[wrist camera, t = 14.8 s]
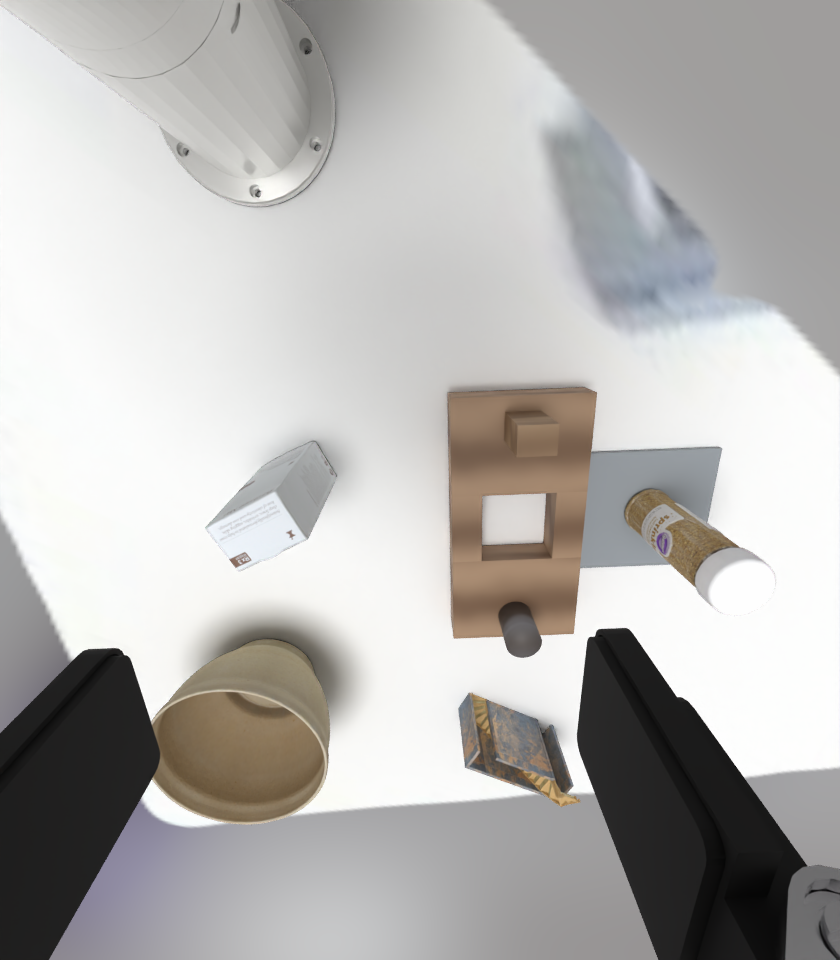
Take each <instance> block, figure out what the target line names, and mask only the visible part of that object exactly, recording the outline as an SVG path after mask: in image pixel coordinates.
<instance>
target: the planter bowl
mask: <svg viewBox="0 0 840 960" xmlns="http://www.w3.org/2000/svg"><path fill="white" fill-rule="evenodd" d="M151 724H152V727H153V730H154V733H155V736H156V739H157V742H158V746H159V749H160V762H159V765H158V768H157V770H156V773H155V774H154V776H153V778H152V780H153V781H154V783H155V784H156V785H157V786H158V788H159V789H160V790H161V791H162V792H163V793H164V794H165V795H166V796H167V797H168V798H170V799H171V800H172V801H173V802H175V803H176V804H178V805H179V806H181V807H182V808H184V809H186V810H188V811H190V812H192V813H194V814H197V815H200V816H203V817H205V818H208V819H212V820H216V821H220V822H225V823H231V824H260V823H267V822H271V821H275V820H279V819H282V818H285V817H287V816H290V815H292V814H294V813H296V812H298V811H299V810H301V809H302V808H304V807H305V806H306V805H307V804H309V803H310V802H311V801H312V800H313V799H314V798H315V797H316V795H317V794H318V793H319V791H320V789H321V788H322V786H323V784H324V781H325V778H326V775H327V769H328V756H329V755H328V747H329V738H330V722H329V712H328V706H327V702H326V698H325V695H324V692H323V690H322V687H321V685H320V683H319V681H318V679H317V677H316V676H315V674H314V669H313V666H312V664H311V662H310V660H309V659H308V658H307V656H306V655H305V654H304V653H303V652H302V651H301V650H299V649H298V648H296V647H295V646H293V645H291V644H289V643H286V642H283V641H279V640H274V639H261V640H255V641H251V642H249V643H247V644H244V645H243V646H241V647H240V648H239V649H236V650H233V651H231V652H228V653H226V654H223V655H221V656H220V657H218V658H216V659H214V660H212V661H211V662H209V663H208V664H206V665H205V666H203V667H202V668H201V669H199V670H198V671H197V672H196V673H194V674H193V675H192V676H191V677H190V678H189V679H188V680H187V681H186V682H185V683H184V684H183V685H182V686H181V687H180V688H179V689H178V690H177V691H176V693H175V694H174V695H173V696H172V698H171V699H170V700H169V702H167V703H166V704H165V705H164V706H163V707H162V708H161V709H160V711H159V712H158V713H157V714H156V716H155V717H154V718H153V720H152V721H151Z"/></svg>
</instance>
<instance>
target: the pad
mask: <svg viewBox="0 0 840 960" xmlns="http://www.w3.org/2000/svg"><path fill="white" fill-rule="evenodd" d="M721 451H722V448H720V447H706V448H681V449H656V450H631V451H606V452H591V459H590V469H589V480H588V490H587V500H586V511H585V521H584V531H583V542H582V552H581V562H580V568H592V567H617V566H643V565H668V564H670V563H669V562H667V561H666V560H665V559H664V558H662V557H661V556H660V555H659V554H658V553H657V552H656V551H655V550H654V549H653V548H652V547H651V546H650V545H649V544H648V543H647V542H646V541H645V540H644V538H643V537H642V536H641V535H640V534H638V532H636V531H635V530H633V529H631V528H630V527H629V525H628V524H627V522H626V519H625V509H626V507H627V505H628V503H629V501H630V500H631V499H632V498H633V497H634V496H635V495H636V494H639V493H640V492H642V491H644V490H649V489H654V490H660V491H662V492H664V493H666V494H667V495H668V496H669V498H670V499H672V500H673V501H675V502H676V503H678V504H680V505H682V506H683V507H685V508H686V509H688V510H689V511H691V512H692V513H694V514H695V515H697V516H698V517H699V518H701V519H702V520H704V521H705V522H707V521H708V516H709V511H710V506H711V501H712V496H713V491H714V486H715V481H716V476H717V471H718V466H719V461H720V456H721Z"/></svg>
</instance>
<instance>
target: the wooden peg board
mask: <svg viewBox="0 0 840 960" xmlns="http://www.w3.org/2000/svg"><path fill="white" fill-rule="evenodd" d="M596 397H597V392H595V391H592V390H590V389H587V388H585V387H575V388H551V389H526V390H501V391H476V392H451V393H448V447H449V506H450V565H451V620H452V628H453V636H454V638H480V637H504V640H505V644H506V647H507V650H508V651H509V653H511V654H512V655H514V656H516V657H521V658H524V657H529V656H532V655H534V654H535V653H536V652H537V651H538V650H539V649H540V647H541V644H542V639H541V636H540V635H556V634H574V624H575V614H576V604H577V593H578V583H579V573H580V562H581V552H582V542H583V531H584V521H585V511H586V500H587V490H588V480H589V469H590V459H591V449H592V438H593V428H594V418H595V407H596ZM539 493H546V509H545V525H544V541H543V543H536V544H511V545H486V546H482V496H489V495H514V494H539Z"/></svg>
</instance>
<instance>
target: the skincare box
mask: <svg viewBox="0 0 840 960" xmlns="http://www.w3.org/2000/svg"><path fill="white" fill-rule="evenodd" d="M336 478H337V476H336V474H335V473H334V471H333V470H332V468H331V466H330V465H329V463H328V461H327V460H326V458H325V456H324V455H323V453H322V451H321V450H320V448H319V447H318V445H317V443H316V442H314V441H313V442H309V443H307V444H305V445H303V446H300V447H298V448H296V449H294V450H292V451H290V452H288V453H286V454H284V455H282V456H280V457H278V458H276V459H275V460H273V461H271V462H269V463H268V464H266V465H264V466H263V467H261V468H260V469H259V470H258V471H257V472H256V473H255V475H254V476H253V477H252V478H251V479H250V480H249V481H248V482H247V483H246V484H245V485H244V486H243V487H242V488H241V489H240V490H239V491H238V493H237V494H236V495H235V496H234V497H233V498H232V499H231V500H230V501H229V502H228V503H227V504H226V506H225V507H224V508H223V509H222V510H221V511H220V512H219V513H218V514H217V516H216V517H215V518H214V519H213V520H212V521H211V522H210V523H209V524H208V525H207V526H206V527H205V529H206V530H207V531H208V533H209V534H210V535H211V537H212V538H213V539H214V541H215V542H216V543H217V545H218V546H219V547H220V548H221V550H222V551H223V552H224V553H225V555H226V556H227V557H228V559H229V560H230V561H231V562H232V564H233V565H234V566H235V568H236V569H237V570H238V571H242V570H244V569H246V568H249V567H251V566H253V565H255V564H257V563H259V562H261V561H265V560H268V559H271V558H273V557H275V556H277V555H279V554H280V553H281V552H283V551H285V550H287V549H289V548H291V547H293V546H295V545H297V544H299V543H301V542H303V541H305V540H307V539H308V538H309V536H310V534H311V532H312V530H313V527H314V525H315V523H316V521H317V519H318V517H319V515H320V512H321V510H322V508H323V506H324V504H325V502H326V500H327V498H328V495H329V493H330V491H331V489H332V487H333V485H334V483H335V481H336Z"/></svg>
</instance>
